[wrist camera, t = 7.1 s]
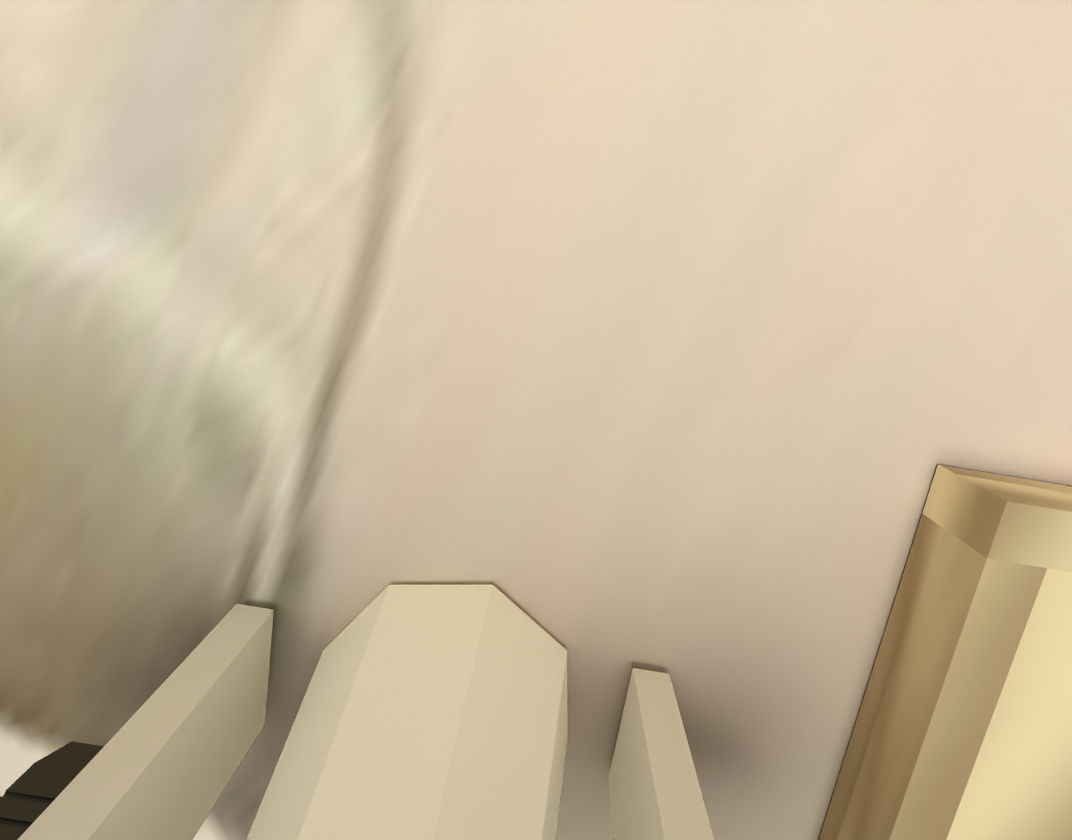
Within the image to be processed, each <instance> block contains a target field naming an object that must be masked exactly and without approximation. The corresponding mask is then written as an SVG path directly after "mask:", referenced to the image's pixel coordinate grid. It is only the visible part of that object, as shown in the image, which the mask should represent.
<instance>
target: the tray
mask: <svg viewBox="0 0 1072 840" xmlns="http://www.w3.org/2000/svg"><path fill="white" fill-rule="evenodd" d="M819 840H1072V486H1067V485H1060V484H1054V483H1048V482H1042V481H1036V480H1030V479H1024V478H1018V477H1012V476H1006V475H1000V474H994V473H988V472H982V471H976V470H970V469H963V468H957V467H951V466H945V465H939V464H938V465H937V469H936V472H935V475H934V478H933V481H932V484H931V488H930V491H929V494H928V497H927V500H926V503H925V506H924V510H923V513H922V516H921V519H920V522H919V525H918V528H917V532H916V535H915V538H914V541H913V544H912V547H911V551H910V554H909V557H908V560H907V563H906V566H905V569H904V573H903V576H902V579H901V582H900V585H899V588H898V591H897V595H896V598H895V601H894V604H893V607H892V610H891V614H890V617H889V620H888V623H887V626H886V629H885V632H884V636H883V639H882V642H881V645H880V648H879V651H878V654H877V658H876V661H875V664H874V667H873V670H872V673H871V677H870V680H869V683H868V686H867V689H866V692H865V695H864V699H863V702H862V705H861V708H860V711H859V714H858V718H857V721H856V724H855V727H854V730H853V733H852V736H851V740H850V743H849V746H848V749H847V752H846V755H845V758H844V762H843V765H842V768H841V771H840V774H839V777H838V781H837V784H836V787H835V790H834V793H833V796H832V799H831V803H830V806H829V809H828V812H827V815H826V818H825V821H824V825H823V828H822V831H821V834H820V837H819Z"/></svg>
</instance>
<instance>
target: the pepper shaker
mask: <svg viewBox="0 0 1072 840" xmlns="http://www.w3.org/2000/svg"><path fill="white" fill-rule="evenodd" d="M567 741H568V706H567V650H566V649H565V648H563V647H562V646H561V645H560V644H559V643H558V642H557V641H556V640H554V639H553V638H552V637H551V636H550V635H549V634H548V633H547V632H545V631H544V630H543V629H542V628H541V627H540V626H539V625H538V624H536V623H535V622H534V621H533V620H532V619H531V618H530V617H529V616H527V615H526V614H525V613H524V612H523V611H522V610H521V609H520V608H518V607H517V606H516V605H515V604H514V603H513V602H512V601H511V600H509V599H508V598H507V597H506V596H505V595H504V594H503V593H502V592H500V591H499V590H498V589H497V588H496V587H495V586H494V585H388V586H387V587H386V588H385V589H384V590H383V591H382V592H381V593H380V594H379V595H378V596H377V597H376V598H375V599H374V600H373V601H372V602H371V603H370V604H369V605H368V606H367V607H366V608H365V609H364V610H363V611H362V612H361V613H360V614H359V615H358V616H357V617H356V618H355V619H354V620H353V621H352V622H351V623H350V624H349V625H348V626H347V627H346V628H345V629H344V630H343V631H342V632H341V633H340V634H339V635H338V636H337V637H336V638H335V639H334V640H333V641H332V642H331V643H330V644H329V645H328V646H327V647H326V648H325V649H324V650H323V652H322V654H321V657H320V659H319V662H318V664H317V667H316V669H315V672H314V674H313V676H312V679H311V681H310V684H309V686H308V689H307V691H306V694H305V696H304V699H303V701H302V704H301V706H300V709H299V711H298V713H297V716H296V718H295V721H294V723H293V726H292V728H291V731H290V733H289V736H288V738H287V741H286V743H285V745H284V748H283V750H282V753H281V755H280V758H279V760H278V763H277V765H276V768H275V770H274V773H273V775H272V778H271V780H270V782H269V785H268V787H267V790H266V792H265V795H264V797H263V800H262V802H261V805H260V807H259V810H258V812H257V814H256V817H255V819H254V822H253V824H252V827H251V829H250V832H249V834H248V837H247V839H246V840H556V832H557V823H558V815H559V807H560V799H561V791H562V782H563V774H564V766H565V758H566V750H567Z"/></svg>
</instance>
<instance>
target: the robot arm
mask: <svg viewBox="0 0 1072 840" xmlns="http://www.w3.org/2000/svg"><path fill="white" fill-rule="evenodd" d="M273 611H274V610H272V609H266V608H260V607H254V606H247V605H241V604H236V605H235V606H234V607H233V608H232V609H231V610H230V612H229V613H228V614H227V615H226V616H225V617H224V618H223V619H222V620H221V621H220V622H219V623H218V624H217V626H216V627H215V628H214V629H213V630H212V631H211V632H210V633H209V634H208V635H207V636H206V637H205V638H204V639H203V641H202V642H201V643H200V644H199V645H198V646H197V647H196V648H195V649H194V650H193V651H192V652H191V653H190V655H189V656H188V657H187V658H186V659H185V660H184V661H183V662H182V663H181V664H180V665H179V666H178V667H177V669H176V670H175V671H174V672H173V673H172V674H171V675H170V676H169V677H168V678H167V679H166V680H165V681H164V683H163V684H162V685H161V686H160V687H159V688H158V689H157V690H156V691H155V692H154V693H153V694H152V695H151V697H150V698H149V699H148V700H147V701H146V702H145V703H144V704H143V705H142V706H141V707H140V708H139V709H138V710H137V712H136V713H135V714H134V715H133V716H132V717H131V718H130V719H129V720H128V721H127V722H126V723H125V724H124V726H123V727H122V728H121V729H120V730H119V731H118V732H117V733H116V734H115V735H114V736H113V737H112V738H111V740H110V741H109V742H108V743H107V744H106V745H105V746H104V747H103V746H97V745H90V744H84V743H78V742H70V743H68V744H67V745H65V746H63V747H61V748H60V749H58V750H56V751H55V752H53V753H51V754H49V755H48V756H46V757H44V758H42V759H41V760H39V761H37V762H36V763H34V764H33V765H32V766H31V767H30V768H29V769H28V770H27V771H26V772H25V773H24V774H23V775H22V776H21V777H20V778H19V779H17V780H16V781H15V782H14V783H13V784H12V785H11V786H10V787H9V788H8V789H7V790H6V792H5V794H4V796H3V797H0V840H192V839H193V838H194V836H195V835H196V833H197V831H198V830H199V828H200V827H201V825H202V824H203V822H204V820H205V819H206V817H207V816H208V814H209V812H210V811H211V809H212V808H213V806H214V804H215V803H216V801H217V800H218V798H219V796H220V795H221V793H222V792H223V790H224V788H225V787H226V785H227V784H228V782H229V781H230V779H231V777H232V776H233V774H234V773H235V771H236V769H237V768H238V766H239V765H240V763H241V761H242V760H243V758H244V757H245V755H246V753H247V752H248V750H249V749H250V747H251V745H252V744H253V742H254V741H255V739H256V738H257V736H258V734H259V733H260V731H261V730H262V728H263V726H264V725H265V716H266V703H267V690H268V677H269V664H270V651H271V637H272V624H273ZM608 783H609V793H610V804H611V814H612V824H613V834H614V840H714V837H713V833H712V830H711V826H710V822H709V819H708V815H707V811H706V807H705V804H704V800H703V796H702V793H701V789H700V785H699V782H698V778H697V774H696V770H695V767H694V763H693V759H692V756H691V752H690V748H689V745H688V741H687V737H686V733H685V730H684V726H683V722H682V719H681V715H680V711H679V708H678V704H677V700H676V696H675V693H674V689H673V685H672V682H671V678H670V674H667V673H661V672H655V671H649V670H643V669H637V668H633V669H632V674H631V678H630V683H629V687H628V692H627V696H626V701H625V705H624V710H623V714H622V719H621V724H620V728H619V733H618V737H617V742H616V746H615V751H614V755H613V760H612V764H611V769H610V773H609V778H608Z"/></svg>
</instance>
